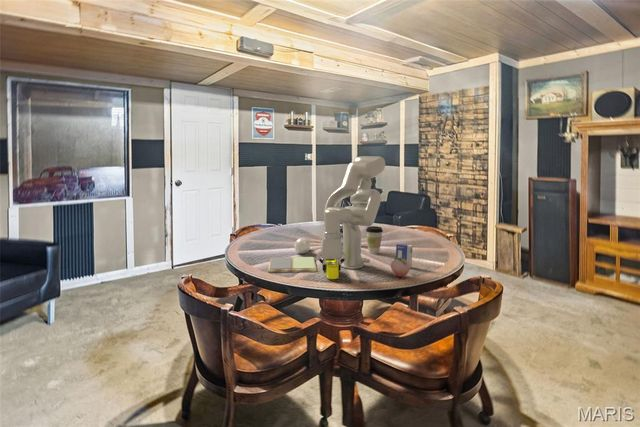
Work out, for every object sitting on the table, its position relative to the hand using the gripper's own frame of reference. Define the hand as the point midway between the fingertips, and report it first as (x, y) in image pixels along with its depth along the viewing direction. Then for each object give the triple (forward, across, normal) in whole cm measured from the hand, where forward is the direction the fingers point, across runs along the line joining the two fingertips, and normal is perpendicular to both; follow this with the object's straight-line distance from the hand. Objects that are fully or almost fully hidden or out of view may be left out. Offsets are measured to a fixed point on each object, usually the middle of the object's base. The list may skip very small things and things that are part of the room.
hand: (331, 271), depth 189 cm
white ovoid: (+2, +13, -44) cm, 46 cm away
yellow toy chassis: (+2, 0, -2) cm, 3 cm away
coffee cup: (+2, -29, -41) cm, 51 cm away
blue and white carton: (+2, -39, -13) cm, 41 cm away
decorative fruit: (+2, -33, +3) cm, 33 cm away
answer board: (+2, +19, -18) cm, 26 cm away
